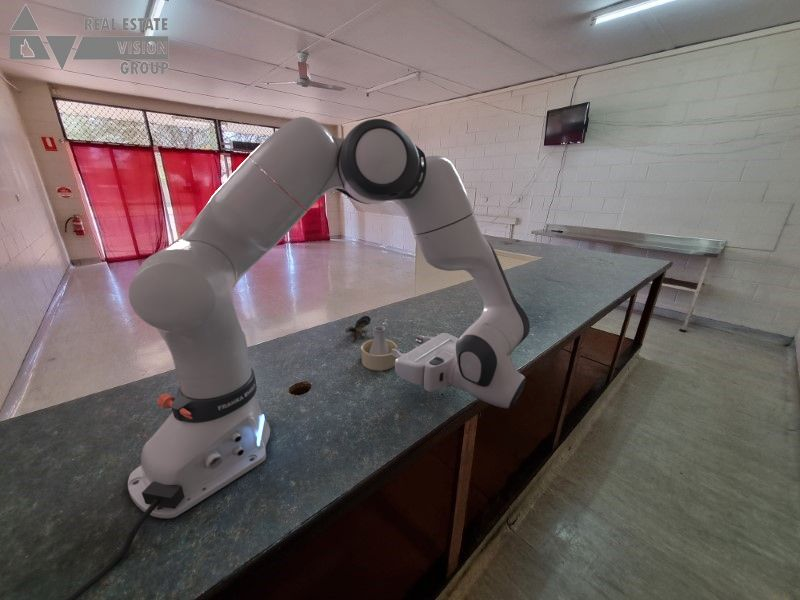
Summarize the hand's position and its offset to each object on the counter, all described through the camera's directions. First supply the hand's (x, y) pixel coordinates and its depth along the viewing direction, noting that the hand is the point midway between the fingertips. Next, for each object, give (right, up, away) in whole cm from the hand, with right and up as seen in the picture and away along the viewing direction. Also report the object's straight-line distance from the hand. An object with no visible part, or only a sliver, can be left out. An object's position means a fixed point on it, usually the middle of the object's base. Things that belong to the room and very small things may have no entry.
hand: (405, 344), depth 81 cm
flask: (-7, -6, +9) cm, 13 cm away
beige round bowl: (-7, -6, +9) cm, 13 cm away
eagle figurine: (-15, -1, +23) cm, 27 cm away
